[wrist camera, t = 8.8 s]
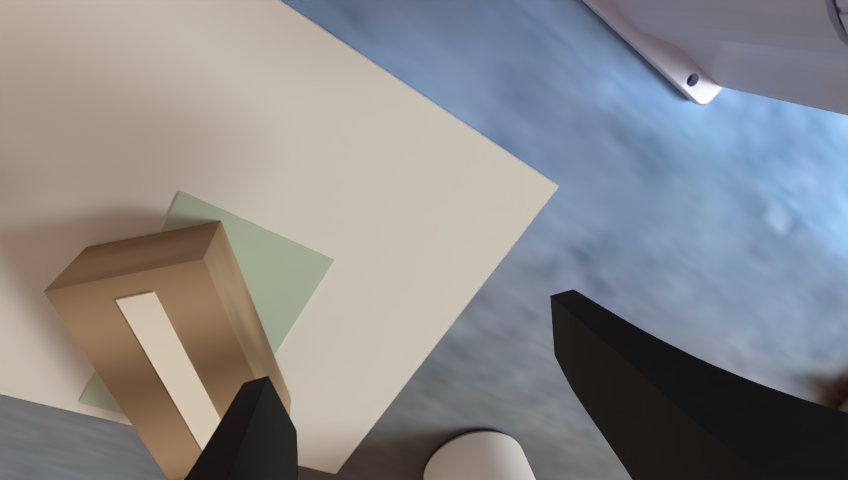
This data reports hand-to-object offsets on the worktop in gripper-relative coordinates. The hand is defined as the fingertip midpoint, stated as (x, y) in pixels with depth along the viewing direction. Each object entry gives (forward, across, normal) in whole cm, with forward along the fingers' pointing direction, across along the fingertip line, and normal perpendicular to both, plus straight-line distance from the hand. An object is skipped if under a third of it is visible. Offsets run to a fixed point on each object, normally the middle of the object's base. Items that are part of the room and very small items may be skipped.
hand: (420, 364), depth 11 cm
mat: (+9, +6, +1) cm, 11 cm away
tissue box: (+9, +9, +3) cm, 13 cm away
